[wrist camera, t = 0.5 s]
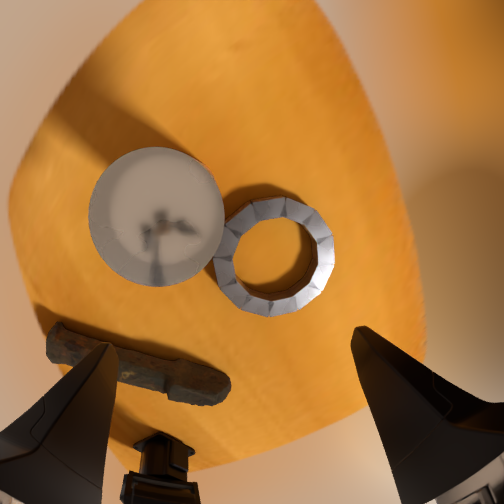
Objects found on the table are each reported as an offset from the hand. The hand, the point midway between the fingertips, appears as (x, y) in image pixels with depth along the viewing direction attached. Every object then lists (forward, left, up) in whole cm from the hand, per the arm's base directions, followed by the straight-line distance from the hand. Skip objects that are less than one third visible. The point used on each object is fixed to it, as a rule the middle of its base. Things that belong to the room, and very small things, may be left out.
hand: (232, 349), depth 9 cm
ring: (+3, -4, -15) cm, 15 cm away
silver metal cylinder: (+1, +5, -15) cm, 15 cm away
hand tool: (-14, -3, -15) cm, 21 cm away
